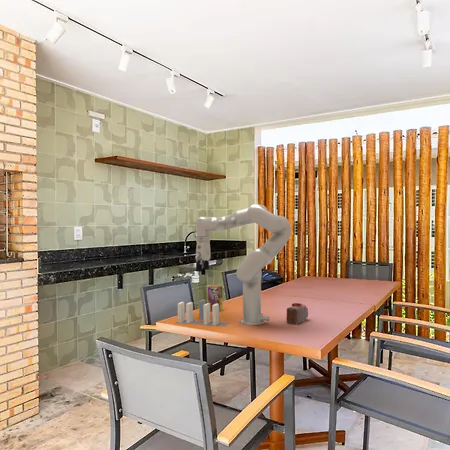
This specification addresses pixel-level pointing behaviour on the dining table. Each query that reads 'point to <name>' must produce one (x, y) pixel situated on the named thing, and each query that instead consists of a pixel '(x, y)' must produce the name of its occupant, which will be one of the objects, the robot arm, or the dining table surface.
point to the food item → (296, 313)
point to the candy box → (215, 296)
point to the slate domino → (201, 309)
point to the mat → (207, 324)
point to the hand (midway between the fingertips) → (202, 270)
